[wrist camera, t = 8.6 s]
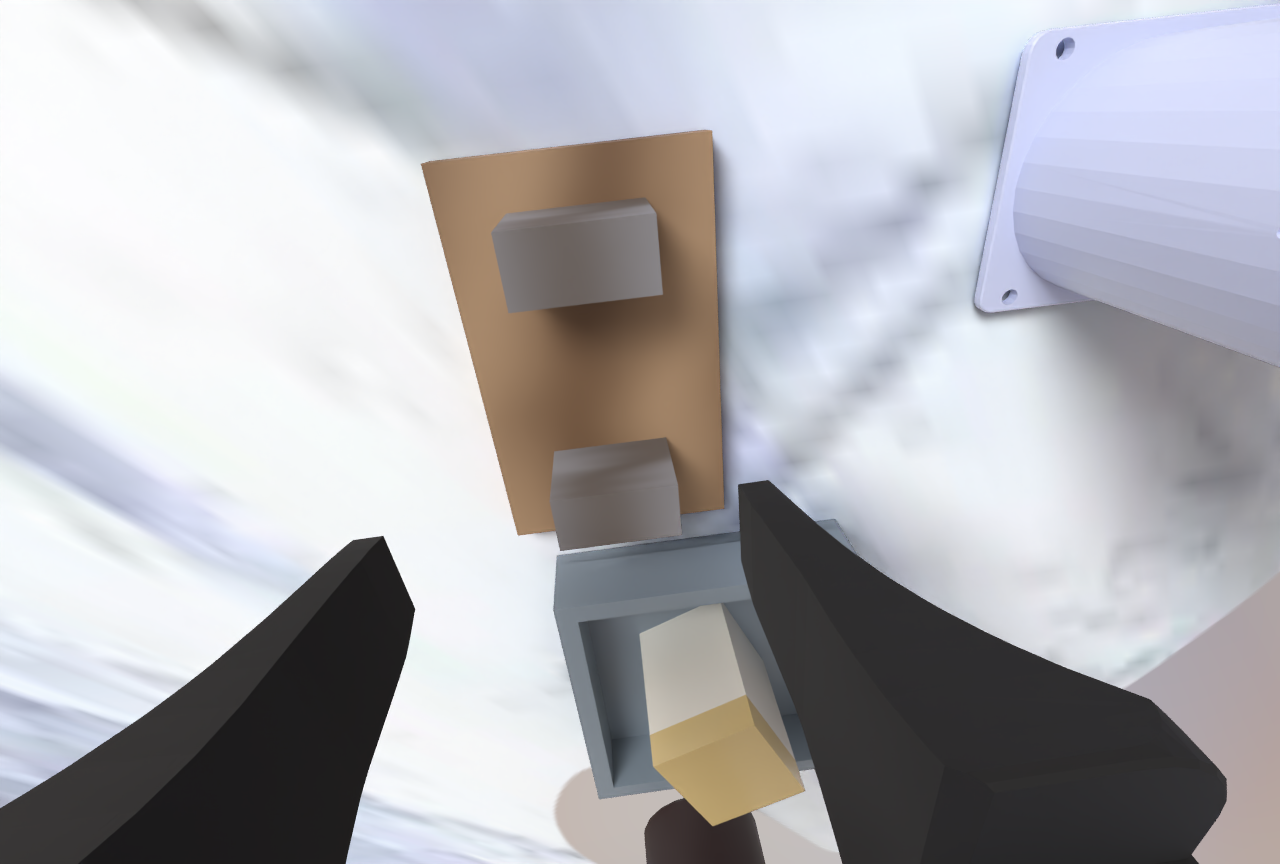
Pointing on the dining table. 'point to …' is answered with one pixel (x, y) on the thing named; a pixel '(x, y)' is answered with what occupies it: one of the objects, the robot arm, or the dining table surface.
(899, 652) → the robot arm
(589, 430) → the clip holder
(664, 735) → the white and tan block
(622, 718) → the tray
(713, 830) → the bottle
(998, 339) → the dining table surface
